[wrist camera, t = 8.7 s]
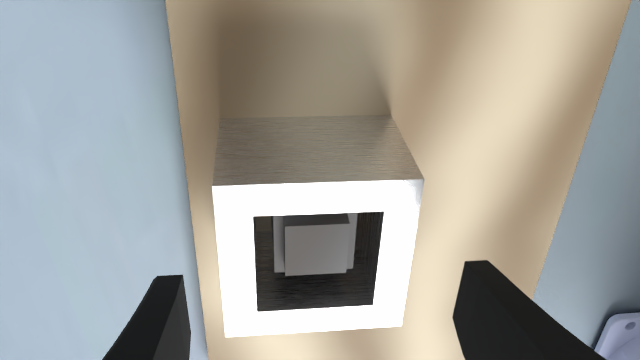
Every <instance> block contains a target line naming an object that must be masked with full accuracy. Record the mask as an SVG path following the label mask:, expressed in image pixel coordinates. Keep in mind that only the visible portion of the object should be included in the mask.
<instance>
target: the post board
mask: <svg viewBox="0 0 640 360" xmlns="http://www.w3.org/2000/svg"><path fill="white" fill-rule="evenodd" d="M165 1H166V10H167V18H168V26H169V34H170V43H171V51H172V59H173V68H174V76H175V84H176V93H177V101H178V109H179V117H180V126H181V134H182V142H183V151H184V159H185V167H186V176H187V184H188V192H189V201H190V209H191V217H192V225H193V234H194V242H195V250H196V259H197V267H198V275H199V284H200V292H201V300H202V309H203V317H204V325H205V333H206V342H207V350H208V358H209V360H465V358H464V356H463V353H462V350H461V347H460V343H459V340H458V337H457V333H456V329H455V326H454V322H453V318H452V316H453V312H454V307H455V303H456V298H457V294H458V289H459V285H460V281H461V276H462V272H463V267H464V263H465V261H477V260H488V261H489V262H490V263H491V264H493V265H494V266H495V267H496V268H497V269H498V270H499V271H500V272H501V273H503V274H504V275H505V276H506V277H507V278H508V279H509V280H510V281H511V282H512V283H513V284H515V285H516V286H517V287H518V288H519V289H520V290H521V291H522V292H523V293H524V294H526V295H527V296H528V297H529V298H530V299H531V300H532V298H533V295H534V292H535V289H536V286H537V283H538V280H539V277H540V274H541V271H542V268H543V265H544V262H545V259H546V256H547V253H548V250H549V247H550V244H551V241H552V238H553V235H554V232H555V229H556V226H557V223H558V220H559V217H560V214H561V211H562V208H563V205H564V202H565V199H566V196H567V193H568V190H569V187H570V184H571V181H572V178H573V175H574V172H575V169H576V166H577V163H578V160H579V157H580V154H581V151H582V148H583V145H584V142H585V139H586V136H587V133H588V130H589V127H590V124H591V121H592V118H593V115H594V112H595V109H596V106H597V103H598V100H599V97H600V93H601V90H602V87H603V84H604V81H605V78H606V75H607V72H608V69H609V66H610V63H611V60H612V57H613V54H614V51H615V48H616V45H617V42H618V39H619V36H620V33H621V30H622V27H623V24H624V21H625V18H626V15H627V12H628V9H629V6H630V3H631V0H165ZM361 115H392V117H393V119H394V121H395V123H396V125H397V127H398V129H399V131H400V132H401V134H402V136H403V138H404V140H405V142H406V144H407V146H408V148H409V150H410V152H411V154H412V156H413V158H414V160H415V162H416V164H417V165H418V167H419V169H420V171H421V173H422V175H423V177H424V179H425V180H424V186H423V193H422V199H421V205H420V211H419V217H418V224H417V230H416V236H415V242H414V249H413V255H412V261H411V267H410V273H409V280H408V286H407V292H406V298H405V305H404V311H403V317H402V323H401V326H393V327H377V328H361V329H346V330H330V331H314V332H298V333H282V334H266V335H250V336H234V337H226V336H225V325H224V314H223V303H222V292H221V281H220V269H219V258H218V247H217V236H216V225H215V214H214V202H213V191H212V182H213V173H214V164H215V155H216V145H217V136H218V127H219V118H254V117H307V116H361ZM357 213H358V212H351V213H325V214H299V215H273V216H255V228H256V231H272V239H273V257H274V273H277V272H285V276H294V275H313V274H332V273H346V269H353V261H354V249H355V237H356V225H357Z"/></svg>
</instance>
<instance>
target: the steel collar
mask: <svg viewBox="0 0 640 360" xmlns="http://www.w3.org/2000/svg"><path fill="white" fill-rule="evenodd" d="M424 180H425V179H424V177H423V175H422V173H421V171H420V169H419V167H418V165H417V164H416V162H415V160H414V158H413V156H412V154H411V152H410V150H409V148H408V146H407V144H406V142H405V140H404V138H403V136H402V134H401V132H400V131H399V129H398V127H397V125H396V123H395V121H394V119H393V117H392V115H361V116H307V117H254V118H219V127H218V136H217V145H216V155H215V164H214V173H213V182H212V191H213V202H214V214H215V225H216V236H217V247H218V258H219V269H220V281H221V292H222V303H223V314H224V325H225V336H226V337H234V336H250V335H266V334H282V333H298V332H314V331H330V330H346V329H361V328H377V327H393V326H401V323H402V317H403V311H404V305H405V298H406V292H407V286H408V280H409V273H410V267H411V261H412V255H413V249H414V242H415V236H416V230H417V224H418V217H419V211H420V205H421V199H422V193H423V186H424ZM351 212H358V213H357V225H356V237H355V249H354V261H353V269H346V273H332V274H313V275H294V276H285V272H277V273H274V257H273V239H272V231H256V228H255V216H273V215H299V214H325V213H351Z"/></svg>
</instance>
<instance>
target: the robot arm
mask: <svg viewBox="0 0 640 360" xmlns="http://www.w3.org/2000/svg"><path fill="white" fill-rule="evenodd" d="M452 318H453V322H454V326H455V329H456V333H457V337H458V340H459V343H460V347H461V350H462V353H463V356H464V358H465V360H640V313H626V314H616V315H614V316H612V317H611V318H609V320H608V321H607V323H606V325H605V328H604V330H603V332H602V334H601V337H600V339H599V341H598V343H597V345H596V348H595V350H592V349H591V348H590V347H588V346H587V345H586V344H584V343H583V342H582V341H581V340H579V339H578V338H577V337H575V336H574V335H573V334H572V333H570V332H569V331H568V330H566V329H565V328H564V327H563V326H562V325H560V324H559V323H558V322H557V321H555V320H554V319H553V318H552V317H551V316H550V315H548V314H547V313H546V312H545V311H544V310H543V309H541V308H540V307H539V306H538V305H537V304H536V303H535V302H533V301H532V300H531V299H530V298H529V297H528V296H527V295H526V294H524V293H523V292H522V291H521V290H520V289H519V288H518V287H517V286H516V285H515V284H513V283H512V282H511V281H510V280H509V279H508V278H507V277H506V276H505V275H504V274H503V273H501V272H500V271H499V270H498V269H497V268H496V267H495V266H494V265H493V264H491V263H490V262H489V261H488V260H477V261H465V263H464V267H463V272H462V276H461V281H460V285H459V289H458V294H457V298H456V303H455V307H454V312H453V316H452ZM190 339H191V330H190V323H189V316H188V309H187V302H186V294H185V287H184V280H183V275H169V276H157V277H156V278H155V279H154V280H153V281H152V283H151V285H150V287H149V289H148V291H147V293H146V294H145V296H144V298H143V299H142V301H141V303H140V305H139V306H138V308H137V309H136V311H135V313H134V314H133V316H132V317H131V319H130V321H129V322H128V324H127V325H126V327H125V328H124V329H123V331H122V332H121V334H120V335H119V337H118V338H117V340H116V341H115V343H114V344H113V346H112V347H111V348H110V350H109V351H108V352H107V354H106V355H105V356H104V358H103V359H102V360H189V354H190Z"/></svg>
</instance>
